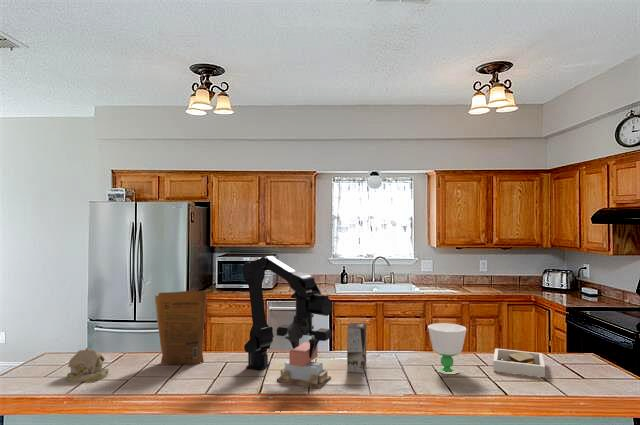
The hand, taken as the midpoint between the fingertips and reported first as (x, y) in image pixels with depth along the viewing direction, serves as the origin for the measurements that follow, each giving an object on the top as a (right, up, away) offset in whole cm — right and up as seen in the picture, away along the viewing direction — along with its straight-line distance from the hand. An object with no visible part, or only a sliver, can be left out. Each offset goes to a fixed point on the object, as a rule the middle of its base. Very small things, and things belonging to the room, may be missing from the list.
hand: (303, 357), depth 155 cm
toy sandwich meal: (+79, -8, +14) cm, 81 cm away
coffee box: (+19, -8, +12) cm, 24 cm away
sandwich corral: (+80, -8, +13) cm, 81 cm away
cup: (+52, -8, +9) cm, 54 cm away
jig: (0, -8, 0) cm, 8 cm away
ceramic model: (-77, -8, +4) cm, 77 cm away
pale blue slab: (0, -7, 0) cm, 7 cm away
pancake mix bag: (-48, -8, +18) cm, 52 cm away
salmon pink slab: (0, -1, 0) cm, 1 cm away
